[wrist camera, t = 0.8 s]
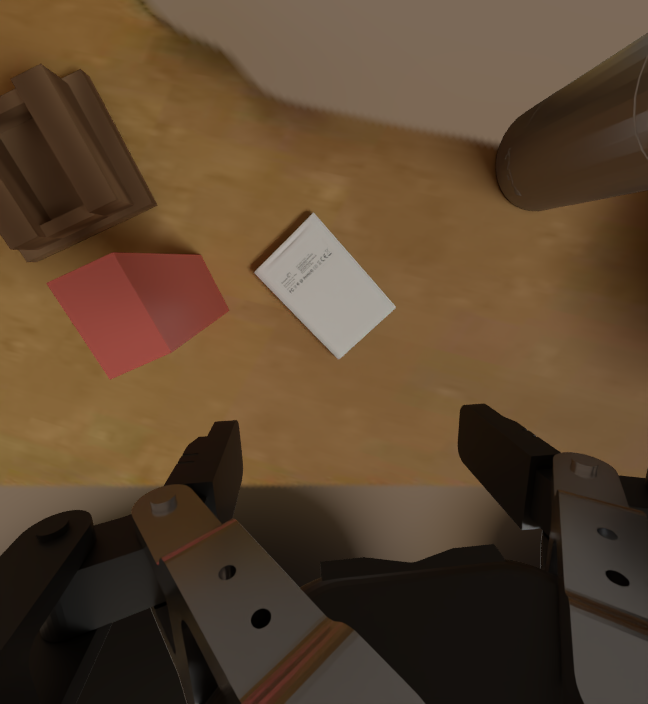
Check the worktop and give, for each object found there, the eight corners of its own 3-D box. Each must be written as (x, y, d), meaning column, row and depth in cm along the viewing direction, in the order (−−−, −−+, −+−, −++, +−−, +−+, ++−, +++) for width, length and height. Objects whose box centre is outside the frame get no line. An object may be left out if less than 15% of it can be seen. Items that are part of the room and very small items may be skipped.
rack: (89, 76, 29) (54, 47, 25) (157, 205, 32) (136, 197, 28) (-42, 141, 29) (-97, 123, 25) (36, 261, 32) (-2, 262, 28)
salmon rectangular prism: (200, 254, 33) (112, 252, 18) (229, 310, 35) (171, 352, 19) (164, 271, 33) (46, 283, 18) (194, 325, 35) (110, 379, 20)
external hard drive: (336, 355, 37) (255, 272, 34) (392, 305, 36) (313, 213, 33) (338, 360, 36) (252, 272, 33) (396, 307, 35) (313, 211, 32)
